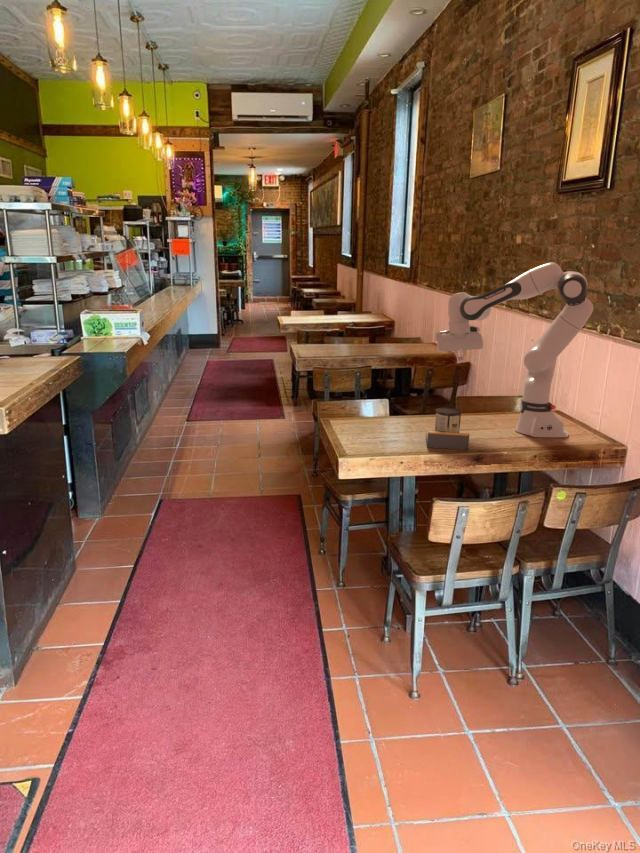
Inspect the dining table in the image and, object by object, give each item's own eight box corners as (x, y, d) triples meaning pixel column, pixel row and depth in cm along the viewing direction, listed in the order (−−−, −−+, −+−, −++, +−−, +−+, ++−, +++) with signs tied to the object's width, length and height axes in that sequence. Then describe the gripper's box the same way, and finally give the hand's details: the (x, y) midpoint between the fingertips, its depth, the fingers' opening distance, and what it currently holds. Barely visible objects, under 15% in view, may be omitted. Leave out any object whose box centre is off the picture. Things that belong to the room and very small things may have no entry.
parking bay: (464, 440, 265) (466, 425, 263) (468, 450, 252) (469, 434, 250) (425, 438, 267) (426, 423, 265) (426, 447, 254) (428, 432, 252)
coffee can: (441, 437, 268) (444, 406, 264) (463, 443, 262) (466, 410, 258) (428, 442, 261) (431, 410, 257) (450, 448, 254) (453, 414, 250)
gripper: (436, 330, 278) (437, 362, 280) (483, 327, 276) (484, 359, 277) (435, 331, 285) (436, 362, 286) (481, 328, 282) (482, 359, 284)
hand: (460, 360), depth 282 cm, fingers closed
